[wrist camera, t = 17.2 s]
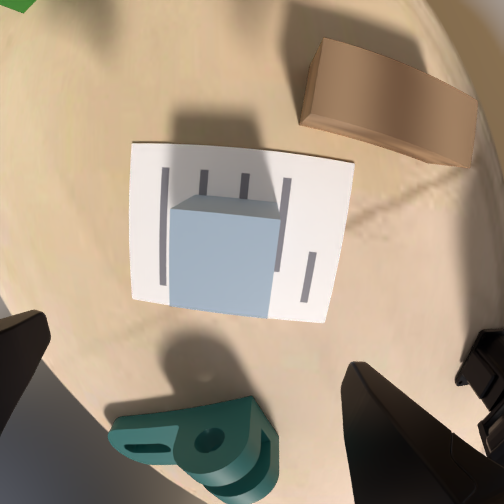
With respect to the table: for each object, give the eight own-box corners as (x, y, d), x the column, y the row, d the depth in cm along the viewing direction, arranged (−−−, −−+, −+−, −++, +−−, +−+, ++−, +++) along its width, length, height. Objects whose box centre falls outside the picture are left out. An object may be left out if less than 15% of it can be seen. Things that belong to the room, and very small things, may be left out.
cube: (277, 202, 18) (280, 219, 13) (267, 278, 19) (267, 318, 15) (195, 194, 18) (170, 208, 13) (192, 270, 19) (169, 306, 15)
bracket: (252, 393, 23) (246, 469, 16) (278, 435, 25) (279, 501, 17) (103, 416, 26) (76, 466, 19) (137, 451, 28) (119, 499, 20)
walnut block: (434, 109, 15) (477, 100, 11) (426, 163, 17) (469, 168, 12) (309, 66, 15) (323, 37, 10) (298, 125, 16) (310, 113, 12)
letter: (354, 163, 17) (355, 163, 17) (324, 322, 20) (324, 323, 20) (132, 143, 17) (131, 143, 17) (132, 298, 20) (132, 299, 20)
